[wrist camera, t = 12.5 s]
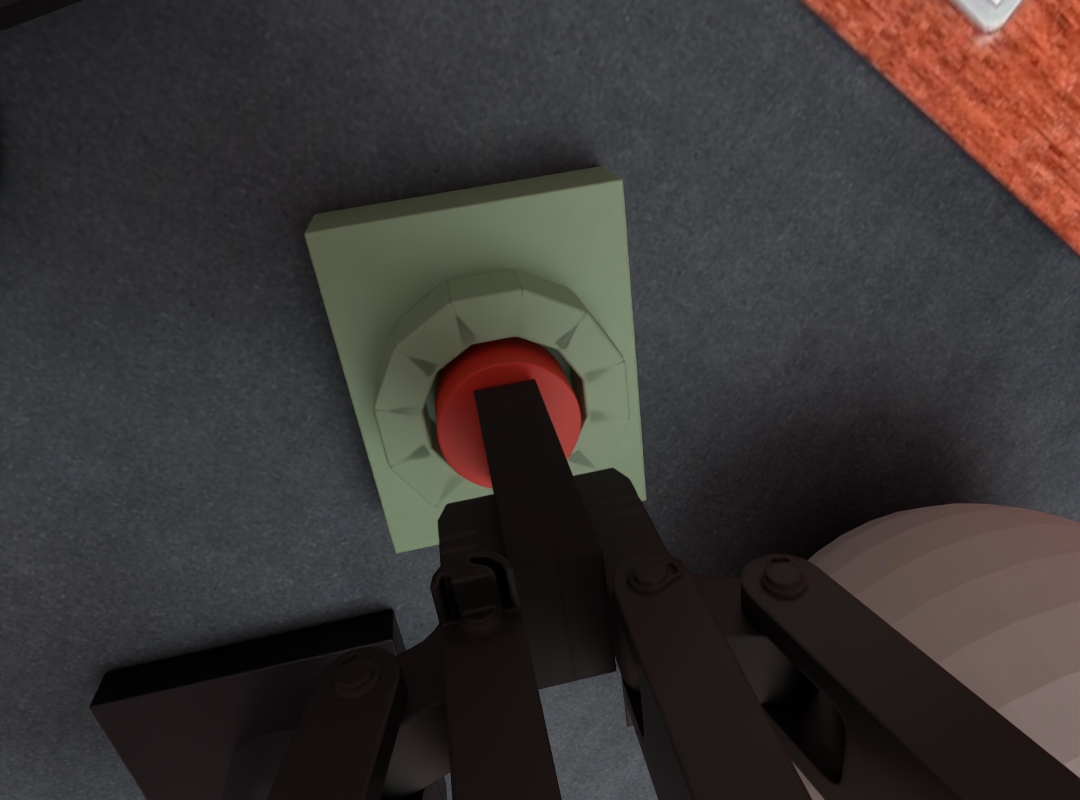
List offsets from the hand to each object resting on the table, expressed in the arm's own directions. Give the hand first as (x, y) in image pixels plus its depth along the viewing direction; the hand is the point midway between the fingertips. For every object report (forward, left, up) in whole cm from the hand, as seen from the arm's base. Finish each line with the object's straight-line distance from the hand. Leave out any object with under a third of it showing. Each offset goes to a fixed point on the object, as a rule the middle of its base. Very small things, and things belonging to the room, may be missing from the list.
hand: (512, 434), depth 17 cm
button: (0, 0, -2) cm, 2 cm away
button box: (0, 0, -5) cm, 5 cm away
